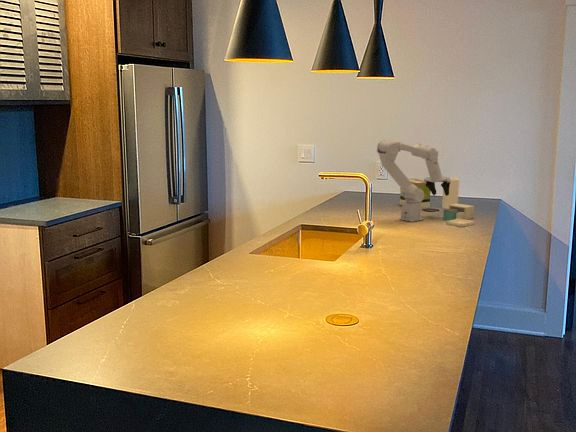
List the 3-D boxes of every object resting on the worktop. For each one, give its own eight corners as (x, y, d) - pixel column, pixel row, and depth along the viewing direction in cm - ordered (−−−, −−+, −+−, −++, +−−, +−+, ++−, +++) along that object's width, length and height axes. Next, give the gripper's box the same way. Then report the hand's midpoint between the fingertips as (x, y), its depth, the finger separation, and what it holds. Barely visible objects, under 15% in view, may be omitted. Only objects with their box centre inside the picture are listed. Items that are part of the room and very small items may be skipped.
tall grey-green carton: (450, 221, 320) (450, 211, 319) (443, 219, 323) (443, 210, 322) (457, 219, 324) (457, 209, 323) (450, 218, 327) (450, 208, 326)
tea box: (398, 205, 363) (400, 178, 361) (413, 204, 368) (415, 178, 365) (415, 209, 350) (416, 182, 347) (430, 208, 354) (431, 181, 351)
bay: (459, 220, 320) (460, 208, 319) (442, 217, 327) (442, 206, 326) (473, 217, 328) (474, 206, 327) (456, 215, 335) (457, 203, 334)
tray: (461, 227, 305) (461, 224, 305) (446, 224, 311) (446, 221, 311) (474, 224, 312) (474, 221, 312) (458, 221, 318) (458, 218, 318)
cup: (459, 209, 353) (460, 179, 350) (443, 208, 353) (445, 179, 350) (455, 206, 361) (457, 177, 358) (440, 206, 361) (442, 177, 358)
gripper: (450, 166, 320) (457, 191, 325) (426, 166, 331) (433, 190, 336) (443, 172, 316) (450, 197, 321) (418, 173, 327) (425, 197, 332)
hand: (441, 194), depth 328 cm, fingers open, 7 cm apart
